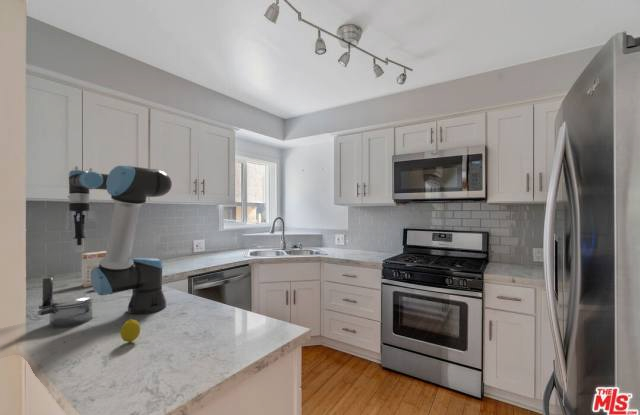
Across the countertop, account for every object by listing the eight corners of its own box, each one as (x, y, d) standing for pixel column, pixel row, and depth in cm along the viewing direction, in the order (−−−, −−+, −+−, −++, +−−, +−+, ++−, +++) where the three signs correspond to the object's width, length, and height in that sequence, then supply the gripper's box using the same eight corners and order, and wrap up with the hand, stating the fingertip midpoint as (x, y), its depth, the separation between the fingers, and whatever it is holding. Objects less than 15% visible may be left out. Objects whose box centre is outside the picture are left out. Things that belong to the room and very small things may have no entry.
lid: (79, 294, 124) (79, 269, 124) (100, 298, 120) (100, 271, 120) (30, 307, 108) (30, 278, 109) (52, 311, 104) (52, 280, 104)
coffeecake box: (110, 280, 184) (110, 250, 184) (114, 282, 180) (114, 251, 180) (81, 285, 172) (81, 253, 172) (84, 287, 168) (85, 254, 168)
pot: (83, 313, 125) (84, 295, 125) (99, 319, 118) (99, 299, 118) (32, 326, 110) (32, 306, 110) (46, 334, 104) (47, 312, 104)
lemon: (125, 348, 93) (125, 323, 93) (117, 343, 96) (117, 320, 96) (143, 341, 98) (143, 318, 98) (135, 337, 101) (135, 315, 101)
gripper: (71, 203, 141) (71, 251, 140) (66, 201, 130) (67, 253, 129) (90, 203, 145) (90, 250, 144) (88, 201, 134) (88, 252, 133)
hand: (79, 251), depth 136 cm, fingers closed
